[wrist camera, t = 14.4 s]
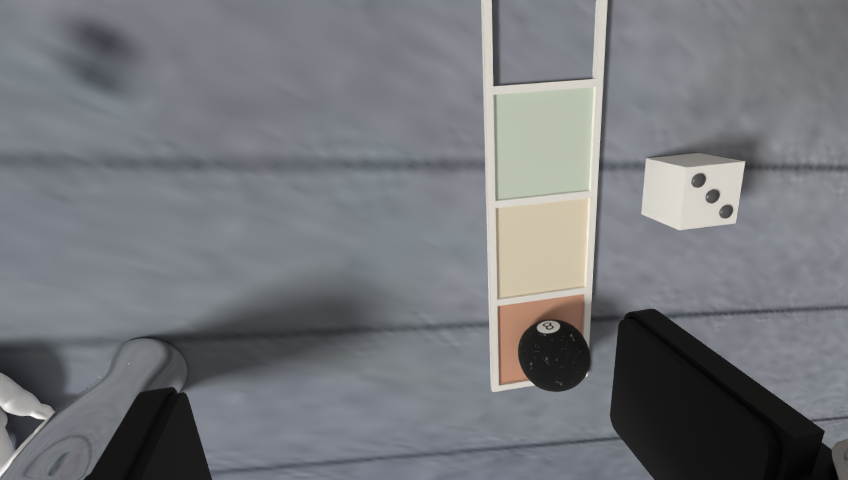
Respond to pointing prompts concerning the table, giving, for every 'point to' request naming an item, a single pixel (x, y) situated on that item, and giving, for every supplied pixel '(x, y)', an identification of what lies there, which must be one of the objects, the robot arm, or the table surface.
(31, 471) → the beer glass
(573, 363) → the billiard ball
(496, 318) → the board
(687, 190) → the die
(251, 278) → the table surface
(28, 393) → the toy creature
